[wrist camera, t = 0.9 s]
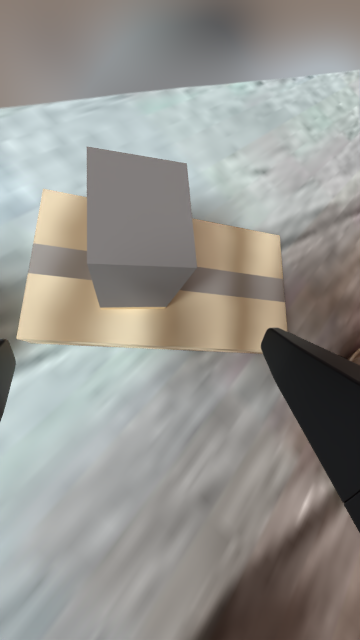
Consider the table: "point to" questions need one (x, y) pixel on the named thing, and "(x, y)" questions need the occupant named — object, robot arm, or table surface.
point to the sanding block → (138, 229)
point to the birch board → (152, 324)
